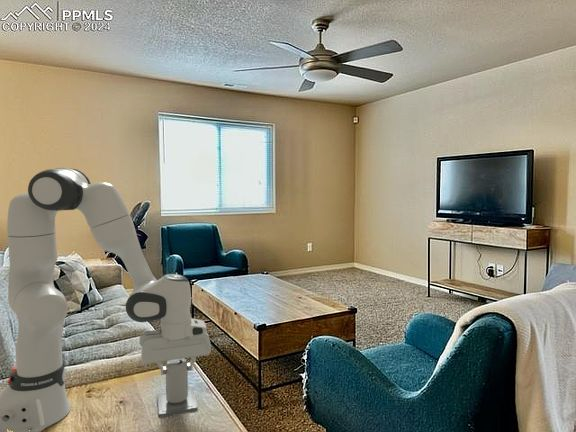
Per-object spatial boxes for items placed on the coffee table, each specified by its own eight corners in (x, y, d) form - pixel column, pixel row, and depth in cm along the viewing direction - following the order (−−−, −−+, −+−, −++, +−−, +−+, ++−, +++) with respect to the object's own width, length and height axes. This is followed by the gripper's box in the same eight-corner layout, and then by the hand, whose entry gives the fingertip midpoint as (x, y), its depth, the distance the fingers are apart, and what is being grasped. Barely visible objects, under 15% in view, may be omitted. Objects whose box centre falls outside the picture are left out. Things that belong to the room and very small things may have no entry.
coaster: (158, 416, 113) (158, 413, 113) (157, 396, 124) (157, 393, 124) (197, 409, 117) (197, 406, 117) (193, 390, 127) (193, 387, 127)
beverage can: (185, 404, 117) (185, 365, 116) (163, 405, 117) (163, 366, 116) (189, 393, 124) (189, 356, 123) (168, 394, 123) (168, 356, 122)
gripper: (139, 336, 111) (140, 382, 113) (211, 327, 118) (211, 371, 120) (139, 328, 117) (140, 372, 119) (208, 320, 124) (208, 361, 126)
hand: (177, 371), depth 119 cm, fingers closed on beverage can, 6 cm apart
